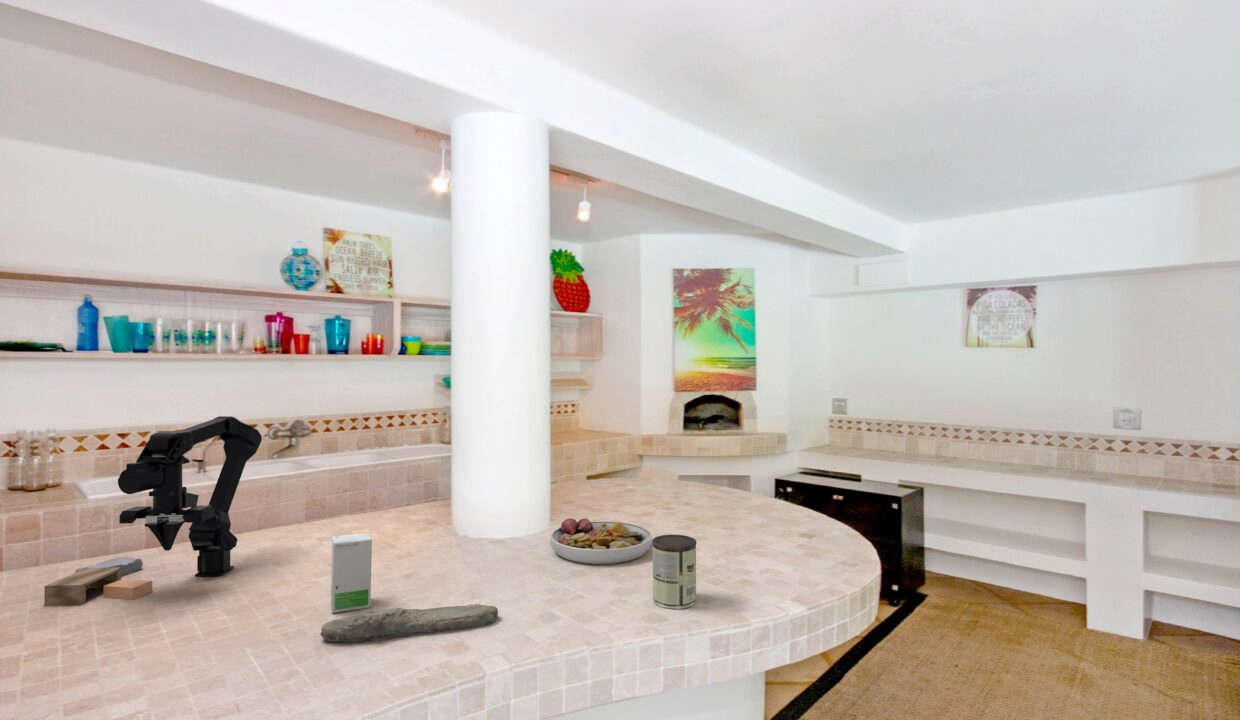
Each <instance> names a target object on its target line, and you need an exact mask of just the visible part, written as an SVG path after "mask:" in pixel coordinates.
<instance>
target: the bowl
mask: <svg viewBox="0 0 1240 720" xmlns="http://www.w3.org/2000/svg"><path fill="white" fill-rule="evenodd" d="M652 540H653V533H652V532H651V531H650V530H649V529H647V528H645V527H643V526H640V525H637V524H634V523H630V522H629V523H627V522H623V521H609V520H606V521H605V520H600V521H599V520H598V521H597V520H596V521H594V520H593V521H590V520H589V519H588V518H581V519H579V520H578V521H577V520H576V519H574V518H571V517H569V518H567V519H565V520H564V521H562V523H561V526H560V527H558V528H556V529H554V530H553V531H551V533H550V536H549V541H550V546H551V548H552V549H553V551H554V553H556V555H558V556H560V557H562V558H563V559H565V560H568V561H571V562H575V563H580V564H587V565H614V564H621V563H627V562H630V561H633V560H636V559H638V558H640V557H642V556H643V555H645V554H646V553H647V552H648V551H649V550H650V548H651V546H652Z"/></svg>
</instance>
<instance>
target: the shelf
mask: <svg viewBox="0 0 1240 720" xmlns="http://www.w3.org/2000/svg"><path fill="white" fill-rule="evenodd" d="M119 580H122V576H121V567H117V568H86V569H84V570H81V571H79V572H76V573H75V572H74V573H72V574H70V575H67V576H65V577H61V578H60V579H58V580H55V581H52V582H50V583H47V584H45V585H44V586H43V587H44V593H43V596H44V597H43V598H44V600H43V601H44V606H47V605H48V606H49V607H50V606H82V605H84V604H86V601H87V599H86V593H87V592H86V591H88V590H89V589H97V588H99V589H100V588H101V589H102V588H103V589H104V586H105V585H108V584H110V583H113V582H116V581H119Z"/></svg>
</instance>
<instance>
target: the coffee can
mask: <svg viewBox="0 0 1240 720" xmlns="http://www.w3.org/2000/svg"><path fill="white" fill-rule="evenodd" d="M651 545H652V603H654V604H655V605H656V606H658V607H659V608H664V609H669V610H685V609H688V608H691V607H693V606H695V605H696V603H697V559H696V558H697V551H696V550H697V540H696V538H693V537H691V536H688V535H684V534H662V535H658V536H655V537H653V538H652V543H651Z"/></svg>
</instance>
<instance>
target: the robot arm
mask: <svg viewBox="0 0 1240 720" xmlns="http://www.w3.org/2000/svg"><path fill="white" fill-rule="evenodd" d="M217 436H218V438H219V439H220V440H221V441H222V442H224V443H223V451H224V455H225V459H224V462H223V465H222V468H221V470H220V473H219V475H218V478H217V480H216V484H215V486H214V489H213V491H212V495H211V496H210V500H209V503H208V505H198V501H199V497H200V496H199V494H196V493H192V492H187V489H188V488H187V486H183V465H185V464H189V463H190V461H191V460H190V459H189V458H187V457H185V456H184V455H185V454H187V453H188V452H190V451H192V449H193V448H194V446H195V445H197V444H199V443H202V442H205V441H207V440H210V439H213V438H215V437H217ZM261 443H262V435H261V433H260V432H259V430H258V429H256V428H255V427H253V426H251V425H249V424H246V423H245V422H242V421H241V420H239V419H238V418H237V417H234V416H229V415H228V416H225V415H224V416H222V415H221V416H220V415H219V416H217V417H215V418H213V419H210V420H207V421H205V422H201V423H199V424H196V425H193V426H190V427H187V428H184V429H179V430H166V431H159V432H154V433H153V434H151V435H149V439H148V440H147V443H146V444H145V446H144V448H143V449H142V450H141V452H140V454H139V455H138V457H137V459H136V461H135V462H129V463H126V464H125V465H126V468H125V469H124V470H123V471H121V473H120V475H119V476H118V478H117V485H118V488H119V489H120V491H121V492H122V493H124V494H127V495H134V494H138V493H142V492H145V491H148V497H152V506H150V505H147V506H146V505H144V506H143V505H139V506H138V505H137V506H133V507H131V508H127V509H125V510H124V509H123V510H122V511H121V513H119V516H118V522H119V523H118V524H119V525H120V524H121V525H122V524H133V523H135V521H136V520H137V519H146V523H145V524H144V527H146V528H148V529H149V530H150V531H151V532H152V533H153V535H154V536H155V538H156V539H157V541H158V542H159V544H160V545H161V548H163V550H164V551H165V552H167V551H171V550H172V548H173V545H174V544H175V540H176V538H177V536H178V533H179V531H180V530H181V528H182V526H183V525H184V524H185V523H187V524H189V523H191V525H190V527H189V528H188V531H189V533H188V539H189V540H190V544H191V548H192V550H193V551H195V552H196V551H198V556H197V557H196V558H197V559H196V561H197V562H196V563H197V564H196V566H197V567H196V571H197V573H195V574H194V577H220V576H221V577H222V575H224V574H226V573H227V572H230V571H231V570H233V569H234V568H235V566H234V565H231V550H233V549H234V548H236V547H237V543H238V538H237V536H235V535H234V534H233V533H232V532H231V530H230V529H231V525H232V523H231V519H230V515H229V511H230V508H231V506H232V503H233V501H234V497H235V494H236V491H237V489H238V486H239V483H240V480H241V478H242V474H243V472H244V469H245V467H246V464H247V462H248V460H250V459H251V458H252V457H253V456H254V455H255V454H257V452H258V449H259V447H260V445H261Z"/></svg>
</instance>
